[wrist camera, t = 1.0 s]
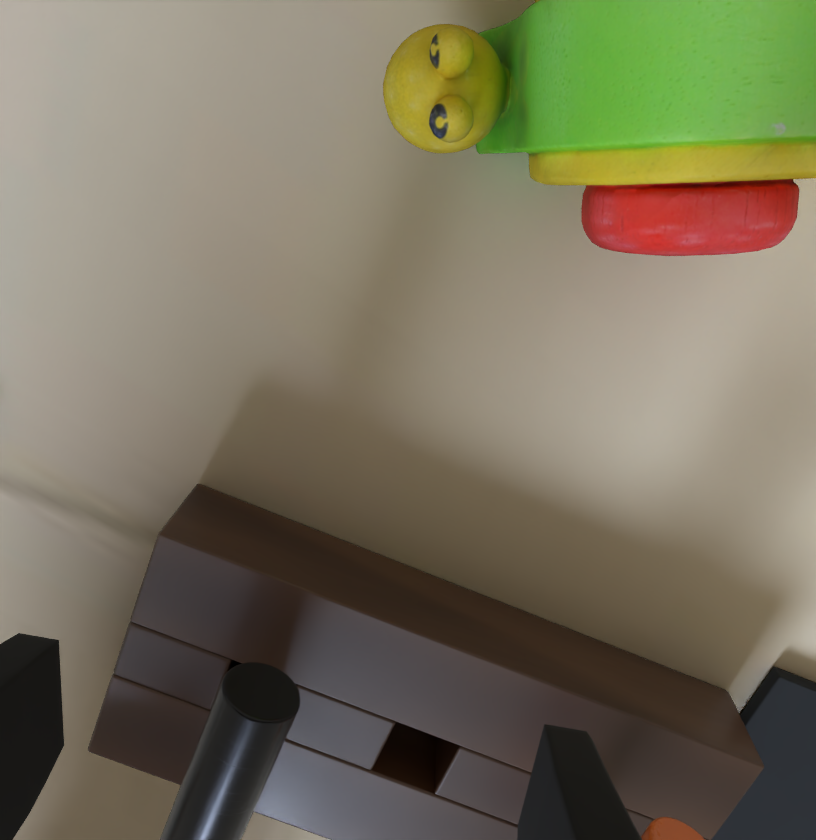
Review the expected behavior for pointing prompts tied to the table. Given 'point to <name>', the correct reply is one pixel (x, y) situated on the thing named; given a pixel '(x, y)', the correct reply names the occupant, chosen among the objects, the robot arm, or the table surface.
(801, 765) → the mat
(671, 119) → the toy measuring tape
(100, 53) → the table surface
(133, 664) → the rack
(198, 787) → the black t handle tool
